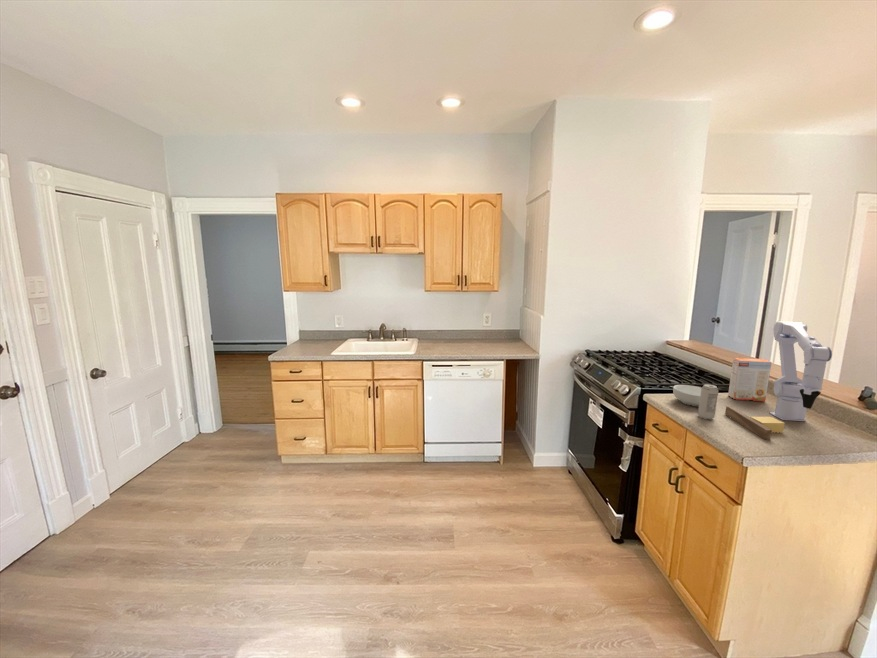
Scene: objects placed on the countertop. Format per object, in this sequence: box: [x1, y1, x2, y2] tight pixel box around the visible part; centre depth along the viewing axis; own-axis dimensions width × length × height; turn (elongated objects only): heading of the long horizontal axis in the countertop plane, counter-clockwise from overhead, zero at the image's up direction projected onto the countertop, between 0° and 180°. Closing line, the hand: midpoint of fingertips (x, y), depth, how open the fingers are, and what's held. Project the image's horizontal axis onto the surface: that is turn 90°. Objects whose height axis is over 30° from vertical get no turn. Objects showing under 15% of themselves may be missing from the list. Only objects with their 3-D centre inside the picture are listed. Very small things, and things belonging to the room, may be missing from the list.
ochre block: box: [749, 416, 785, 434], centre depth 150 cm, size 9×6×4 cm, turn 89°
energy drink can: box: [697, 383, 719, 420], centre depth 160 cm, size 6×6×15 cm
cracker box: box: [727, 357, 772, 402], centre depth 182 cm, size 14×6×21 cm, turn 77°
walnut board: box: [724, 405, 772, 440], centre depth 153 cm, size 2×24×4 cm, turn 173°
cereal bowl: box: [672, 384, 702, 407], centre depth 177 cm, size 17×17×7 cm
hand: (807, 407), depth 147 cm, fingers closed
